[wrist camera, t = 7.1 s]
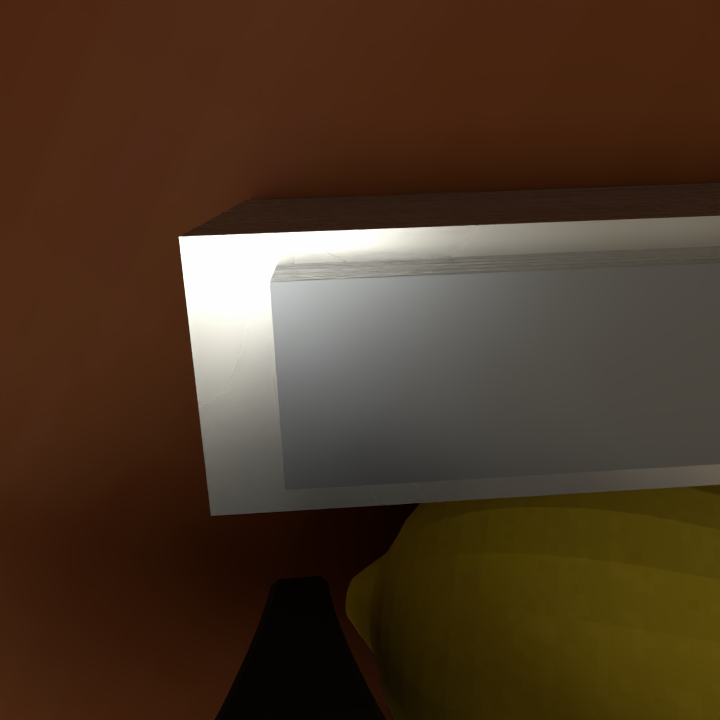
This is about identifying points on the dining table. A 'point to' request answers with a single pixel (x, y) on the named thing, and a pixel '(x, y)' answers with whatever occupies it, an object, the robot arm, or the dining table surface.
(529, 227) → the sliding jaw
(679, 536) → the lemon
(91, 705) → the dining table surface
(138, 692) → the dining table surface
